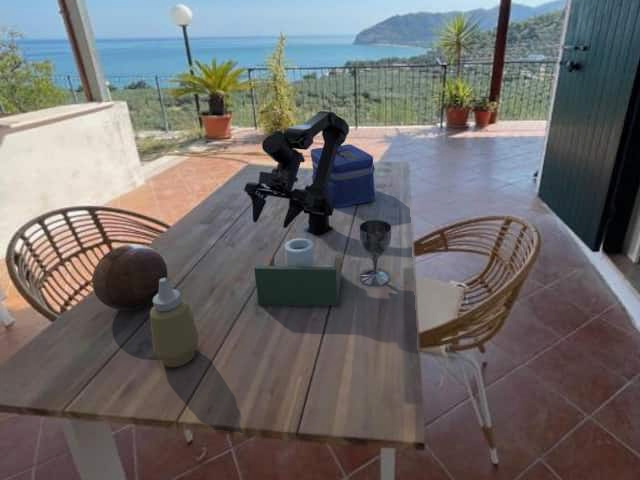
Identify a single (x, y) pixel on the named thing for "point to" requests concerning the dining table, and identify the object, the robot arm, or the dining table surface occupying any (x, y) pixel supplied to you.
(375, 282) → the wine glass
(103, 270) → the wooden sphere
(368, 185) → the lunch bag
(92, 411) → the dining table surface
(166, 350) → the squeeze bottle
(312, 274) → the cubby cabinet
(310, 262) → the storage jar
